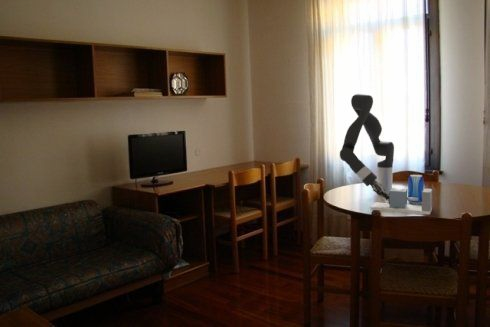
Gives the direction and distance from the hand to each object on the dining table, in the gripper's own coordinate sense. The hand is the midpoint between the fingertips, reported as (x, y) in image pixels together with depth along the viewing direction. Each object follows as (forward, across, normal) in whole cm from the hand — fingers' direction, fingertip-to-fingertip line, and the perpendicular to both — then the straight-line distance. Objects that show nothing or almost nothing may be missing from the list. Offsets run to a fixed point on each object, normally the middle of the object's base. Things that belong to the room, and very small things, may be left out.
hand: (388, 199), depth 250 cm
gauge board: (+8, 0, -1) cm, 9 cm away
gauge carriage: (+8, -1, -3) cm, 9 cm away
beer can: (+12, +19, -4) cm, 23 cm away
